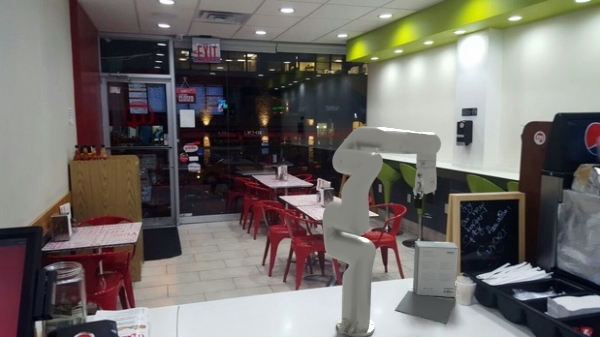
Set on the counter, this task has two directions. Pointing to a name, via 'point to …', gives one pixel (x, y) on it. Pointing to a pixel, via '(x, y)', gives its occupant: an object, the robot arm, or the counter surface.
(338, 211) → the robot arm
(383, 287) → the counter surface
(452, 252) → the hard drive box
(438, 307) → the mat
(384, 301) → the counter surface
